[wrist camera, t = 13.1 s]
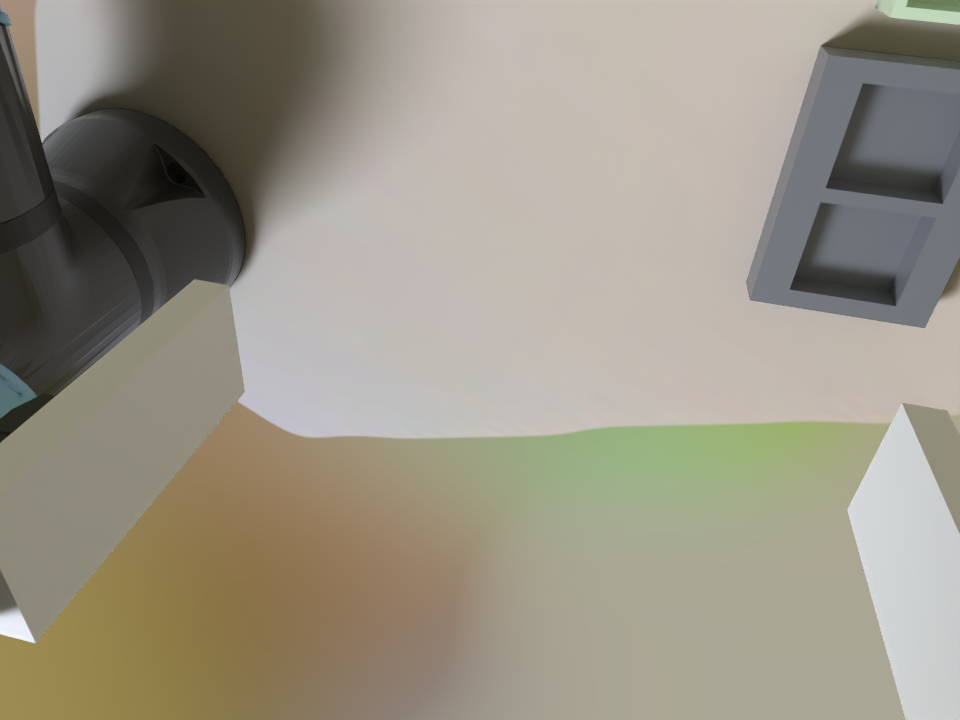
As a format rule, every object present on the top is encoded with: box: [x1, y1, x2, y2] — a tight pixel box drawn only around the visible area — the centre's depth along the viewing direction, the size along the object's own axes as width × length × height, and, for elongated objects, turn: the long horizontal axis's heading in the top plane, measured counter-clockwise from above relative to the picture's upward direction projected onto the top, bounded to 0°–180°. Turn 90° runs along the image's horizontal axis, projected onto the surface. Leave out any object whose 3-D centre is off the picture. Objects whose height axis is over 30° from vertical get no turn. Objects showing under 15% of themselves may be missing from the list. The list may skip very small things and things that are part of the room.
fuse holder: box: [747, 46, 960, 328], centre depth 40 cm, size 10×14×2 cm
